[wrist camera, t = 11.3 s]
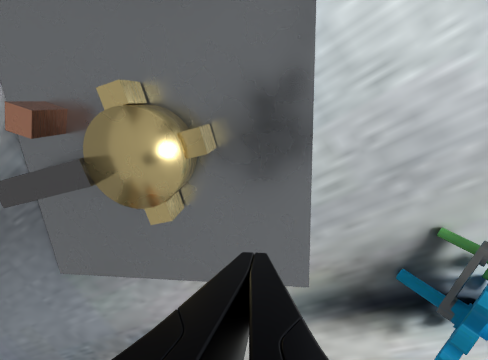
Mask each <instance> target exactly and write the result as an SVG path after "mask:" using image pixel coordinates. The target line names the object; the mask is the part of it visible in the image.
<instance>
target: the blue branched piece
mask: <svg viewBox="0 0 488 360" xmlns="http://www.w3.org/2000/svg"><path fill="white" fill-rule="evenodd" d="M437 236H439V237H441V238H442V239H444V240H446V241H448V242H450V243H452V244H454V245H456V246H458V247H460V248H462V249H464V250H466V251H468V252H470V253H472V254H474V256H473V257H472V259H471V260H470V262H469V263H468V265H467V266H466V268H465V269H464V270H463V272H462V273H461V275H460V276H459V278H458V279H457V281H456V282H455V284H454V285H453V286H452V288H451V289H450V291H449V292H448V294H447V295H446V296H445V295H443V294H442V293H440V292H439V291H437V290H436V289H434V288H433V287H431V286H429V285H428V284H426V283H425V282H423V281H422V280H420V279H419V278H417V277H416V276H414V275H412V274H411V273H409V272H408V271H406V270H405V269H402V270H401V271H400V272H399V273H398V275H397V277H396V279H397V280H399V281H400V282H401V283H403V284H404V285H406V286H407V287H409V288H410V289H412V290H413V291H415V292H416V293H418V294H419V295H420V296H422V297H423V298H425V299H426V300H428V301H429V302H431V303H432V304H434V305H435V306H436V307H438V308H437V310H436V312H438V313H439V314H441V315H442V316H444V317H445V318H446V319H448V320H449V321H451V322H452V323H454V324H455V325H454V326H453V327H454V328H456V329H455V330H454V332H453V333H452V335H451V337H450V338H449V339H448V341H447V342H446V343H445V345H444V346H443V347H442V349H441V350H440V352H439V353H438V355H437V356H436V358H435V359H434V360H459V359H460V357H461V356H462V355H463V353H464V354H465V355H467V354H468V353H469V351H470V350H471V348H472V347H473V346H474V344H475V343H476V341H477V340H478V338H479V337H482V338H483V339H485V340H486V341H487V340H488V284H487V286H486V287H485V289H484V290H483V292H482V293H481V295H480V296H479V298H478V299H477V300H476V301H475V302H474V304H471V303H470V304H469V305H467V304H465V303H464V302H462V301H461V300H459V299H458V298H456V296H457V295H458V293H459V292H460V291H461V289H462V288H463V286H464V285H465V283H466V282H467V280H468V279H469V278H470V276H471V275H472V273H473V272H474V270H475V269H476V268H477V266H478V265H481V266H483V267H484V266H485V264H486V263H487V264H488V242H487V241H484V242H483V243H482V245H481V246H480V245H478V244H476V243H474V242H472V241H469V240H467V239H465V238H463V237H461V236H459V235H457V234H455V233H453V232H451V231H449V230H447V229H444V228H441V229H440V231H439V232H438V234H437ZM482 278H484V279H486V280H488V268H487V270H486V271H485V273H484V274H483V276H482Z"/></svg>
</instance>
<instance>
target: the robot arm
mask: <svg viewBox="0 0 488 360" xmlns="http://www.w3.org/2000/svg"><path fill="white" fill-rule="evenodd" d="M248 337H249V360H329V359H328V358H327V356H326V355H325V354H324V352H323V351H322V349H321V348H320V346H319V345H318V343H317V341H316V340H315V338H314V336H313V335H312V333H311V331H310V330H309V328H308V326H307V324H306V323H305V321H304V319H303V318H302V316H301V314H300V312H299V310H298V308H297V307H296V305H295V303H294V301H293V299H292V298H291V296H290V294H289V292H288V290H287V289H286V287H285V285H284V283H283V281H282V280H281V278H280V276H279V274H278V272H277V271H276V269H275V267H274V265H273V263H272V262H271V260H270V258H269V256H268V254H267V253H255V254H254V253H253V252H242V253H241V254H240V255H238V256H237V257H236V258H235V259H234V260H233V261H231V262H230V263H229V264H228V265H227V266H226V267H225V268H223V269H222V270H221V271H220V272H219V273H218V274H217V275H215V276H214V277H213V278H212V279H211V280H210V281H208V282H207V283H206V284H205V285H204V286H203V287H202V288H200V289H199V290H198V291H197V292H196V293H195V294H193V295H192V296H191V297H190V298H189V299H188V300H187V301H185V302H184V303H183V304H182V305H181V306H180V307H178V310H175V311H174V312H173V313H171V314H170V315H169V316H168V317H167V318H166V319H164V320H163V321H162V322H161V323H160V324H158V325H157V326H156V327H155V328H153V329H152V330H151V331H150V332H148V333H147V334H146V335H144V336H143V337H142V338H140V339H139V340H138V341H136V342H135V343H134V344H132V345H131V346H130V347H128V348H127V349H126V350H124V351H123V352H121V353H120V354H119V355H117V356H116V357H114V358H113V359H112V360H244V356H245V351H246V346H247V342H248Z"/></svg>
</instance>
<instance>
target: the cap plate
mask: <svg viewBox="0 0 488 360" xmlns="http://www.w3.org/2000/svg"><path fill="white" fill-rule="evenodd" d="M315 24H316V0H0V81H1V84H2V87H3V90H4V94H5V97H6V100H7V101H5V130H7V131H10V132H13V133H15V134H17V135H18V138H19V142H20V145H21V148H22V151H23V154H24V158H25V161H26V164H27V167H28V170H29V173H30V172H33V171H37V170H40V169H44V168H47V167H51V166H55V165H58V164H62V163H65V162H69V161H72V160H76V159H80V158H83V157H84V155H83V141H84V136H85V133H86V130H87V128H88V126H89V124H90V123H91V121H92V120H93V119H94V118H95V117H96V116H97V115H98V114H99V113H101V112H102V111H104V107H103V105H102V102H101V100H100V97H99V95H98V92H97V90H96V87H99V86H102V85H105V84H107V83H110V82H113V81H116V80H119V79H121V80H129V81H137V82H140V84H141V87H142V90H143V92H144V95H145V98H146V101H147V103H146V104H142V105H156V106H160V107H163V108H166V109H168V110H170V111H172V112H173V113H175V114H176V115H177V116H178V117H179V118H181V119H182V120H183V122H184V123H185V124H186V125H187V127H188V128H189V129H192V128H195V127H199V126H203V125H206V124H210V127H211V130H212V133H213V137H214V140H215V143H216V147H217V148H215V149H214V150H213V151H211V152H210V153H208V154H206V155H202V156H198V157H197V161H196V166H195V170H194V172H193V174H192V176H191V178H190V179H189V181H188V182H187V183H186V184H185V185H184V186H183V187H181V188H180V189H179V190H178V191H179V194H180V196H181V199H182V202H183V205H184V209H183V210H182V211H181V212H180V213H179V214H178V215H177V217H176V218H175V219H174V220H173V221H170V222H164V223H159V224H154V225H151V224H150V222H149V219H148V217H147V214H146V212H145V209H136V208H130V207H126V206H123V205H121V204H119V203H117V202H115V201H113V200H112V199H110V198H109V197H107V196H106V195H105V194H104V193H103V192H102V191H101V190H100V189H99V188H98V187H97V186H96V185H93V186H91V187H87V188H83V189H79V190H75V191H71V192H67V193H63V194H59V195H55V196H51V197H47V198H43V199H39V200H38V202H39V206H40V209H41V212H42V215H43V218H44V222H45V225H46V228H47V231H48V234H49V238H50V241H51V244H52V247H53V250H54V254H55V257H56V260H57V263H58V266H59V270H60V273H61V274H79V275H97V276H115V277H133V278H151V279H169V280H187V281H205V282H208V281H210V280H211V279H212V278H213V277H214V276H215V275H217V274H218V273H219V272H220V271H221V270H222V269H223V268H225V267H226V266H227V265H228V264H229V263H230V262H231V261H233V260H234V259H235V258H236V257H237V256H238V255H240V254H241V253H242V252H253V253H254V254H255V253H267V254H268V256H269V258H270V260H271V262H272V263H273V265H274V267H275V269H276V271H277V272H278V274H279V276H280V278H281V280H282V281H283V283H284V285H285V286H295V287H309V256H310V217H311V179H312V140H313V101H314V63H315Z"/></svg>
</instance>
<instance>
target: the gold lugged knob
mask: <svg viewBox="0 0 488 360" xmlns="http://www.w3.org/2000/svg"><path fill="white" fill-rule="evenodd" d="M96 90H97V92H98V95H99V97H100V100H101V102H102V105H103V107H104V111H102V112H101V113H99V114H98V115H97V116H96V117H95V118H94V119H93V120H92V121H91V123H90V124H89V126H88V128H87V130H86V133H85V136H84V141H83V155H84V157H83V158H80V159H76V160H72V161H69V162H65V163H62V164H58V165H55V166H51V167H47V168H44V169H40V170H37V171H33V172H30V173H26V174H23V175H19V176H16V177H12V178H9V179H5V180H2V181H0V202H1V204H2V206H3V207H4V208H7V207H11V206H15V205H19V204H23V203H27V202H31V201H35V200H39V199H43V198H47V197H51V196H55V195H59V194H63V193H67V192H71V191H75V190H79V189H83V188H87V187H91V186H93V185H96V186H97V187H98V188H99V189H100V190H101V191H102V192H103V193H104V194H105V195H106V196H107V197H109V198H110V199H112V200H113V201H115V202H117V203H119V204H121V205H123V206H126V207H130V208H136V209H145V212H146V214H147V217H148V219H149V222H150V224H151V225H154V224H159V223H164V222H170V221H173V220H174V219H175V218H176V217H177V215H178V214H179V213H180V212H181V211H182V210H183V209H184V205H183V202H182V199H181V196H180V194H179V191H178V190H179V189H180V188H181V187H183V186H184V185H185V184H186V183H187V182H188V181H189V179H190V178H191V176H192V174H193V172H194V170H195V166H196V161H197V157H198V156H202V155H206V154H208V153H210V152H211V151H213V150H214V149H215V148H217V147H216V143H215V140H214V137H213V133H212V130H211V127H210V124H206V125H203V126H199V127H195V128H192V129H189V128H188V127H187V125H186V124H185V123H184V122H183V120H182V119H181V118H179V117H178V116H177V115H176V114H175V113H173V112H172V111H170V110H168V109H166V108H163V107H160V106H156V105H142V104H146V103H147V101H146V98H145V95H144V92H143V90H142V87H141V84H140V82H137V81H129V80H121V79H119V80H116V81H113V82H110V83H107V84H105V85H102V86H99V87H96Z"/></svg>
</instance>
